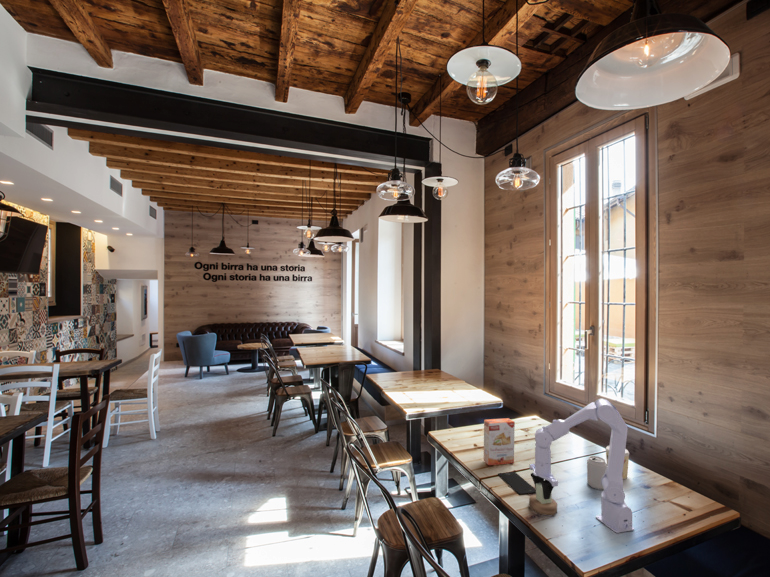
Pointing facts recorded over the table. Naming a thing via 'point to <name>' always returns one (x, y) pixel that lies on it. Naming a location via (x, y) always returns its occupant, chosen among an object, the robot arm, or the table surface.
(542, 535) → the table surface
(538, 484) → the block
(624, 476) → the coffee cup
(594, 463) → the can
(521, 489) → the cell phone
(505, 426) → the cracker box
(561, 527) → the table surface
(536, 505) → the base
